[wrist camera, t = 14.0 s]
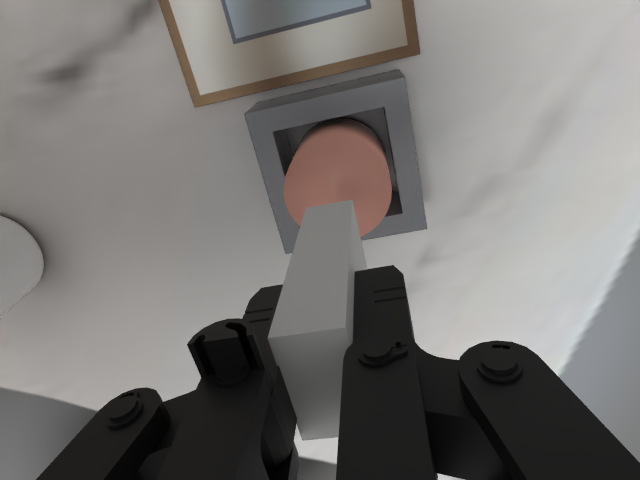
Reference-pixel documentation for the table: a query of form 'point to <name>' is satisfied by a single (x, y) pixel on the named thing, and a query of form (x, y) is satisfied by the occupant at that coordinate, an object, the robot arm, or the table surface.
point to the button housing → (331, 103)
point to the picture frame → (282, 41)
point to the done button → (340, 172)
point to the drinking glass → (17, 263)
